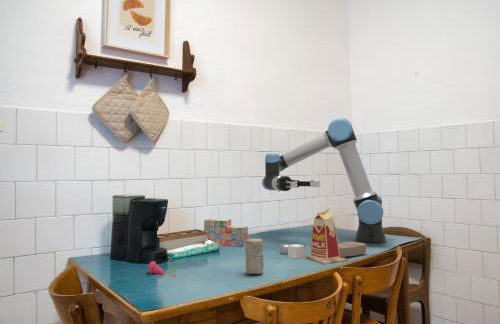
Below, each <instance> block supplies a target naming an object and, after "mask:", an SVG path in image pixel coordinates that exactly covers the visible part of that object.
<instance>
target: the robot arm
mask: <svg viewBox="0 0 500 324" xmlns="http://www.w3.org/2000/svg"><path fill="white" fill-rule="evenodd" d="M357 142H358V139H357V136H356V134H355V131H354V128H353V125H352V123H351V121H350V120H348V119H347V118H343V117H338V118H337V117H336V118H334V119H332V121H331V122H329V124H328V128H327V130H325V131H324V133H323V134H321V135H320V136H319V135H318V137H316V138H314V139H312V140H309V141H308V142H306V143H304V144H302V145H299V146H298V147H296V148H294V149H292V150H290V151H287V152H286V153H283V154H282V155H280V154H279V153H266V154H265V157H264V163H265V164H264V166H265V169H264V170H265V172H264V174H265V176H264V177H263V178H262V181H261V186H262V187H263V188H264V190H268V191H278V193H280V192H289V191H290V190H291V189H296V188H299V187H310V188H320V187H321V181H319V180H317V181H316V180H315V181H314V180H313V179H311V180H310V181H309V180H308V181H305V180H304V181H300V180H297V179H296V180H295V179H292V178H291V177H289V176H288V175H280V172H282V171H284V170H285V169H287V168H289V167H291V166H293V165H296V164H297V163H299V162H301V161H303V160H306V159H309V157H313V156H314V155H316V154H318V153H320V152H323V151H324V150H326V149H328V148H334V149H335V150H337V151H338V152H339V156H340V158H341V162H342V164H343V167H344V169H345V172H346V175H347V177H348V180H349V183H350V186H351V189H352V192H353V194H354V198H353V201H352V202H353V203H354V206H355V209H356V215H357V217H358V227H357V230H356V234H355V239H354V240H355V241H357V242H360V243H371V244H372V243H374V244H375V243H376V244H377V243H378V244H379V243H385V242H386V241H387V236H386V235H385V231H384V228H383V217H384V208H383V207H382V206H383V205H382V204H383V200H382V197H381V196H380V195H379V196H378V193H377V192H376V191H374V190H373V189H372V186H371V184H370V182H369V178H368V175H367V173H366V171H365V167H364V165H363V161H362V159H361V157H360V153H359V151H358V149H357V146H356V144H357Z"/></svg>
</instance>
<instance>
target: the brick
mask: <svg viewBox="0 0 500 324" xmlns="http://www.w3.org/2000/svg"><path fill="white" fill-rule="evenodd" d="M338 246H339V254H340V257H343V258H346V257H354V256H359V255H364V254H366V253H367V252H366V251H367V244H366V243H365V242H359V241H357V242H356V241H345V242H338Z"/></svg>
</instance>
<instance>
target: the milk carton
mask: <svg viewBox="0 0 500 324" xmlns="http://www.w3.org/2000/svg"><path fill="white" fill-rule="evenodd" d="M316 214H317V215H316V216H315V217H314V219H313V226H312V231H311V243H310V256H311V257H314V258H317V259H321V260H331V259H338V258H340V254H339V246H338V243H339V241H338V235H337V230H336V226H335V221H334V217H333V215H332V213H331V212H330V207H327V208H326V209H324V210H322V211H320V212H317V213H316Z"/></svg>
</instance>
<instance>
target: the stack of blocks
mask: <svg viewBox="0 0 500 324" xmlns="http://www.w3.org/2000/svg"><path fill="white" fill-rule="evenodd" d="M248 226H249V225H232V219H230V218H228V219H227V218H207V219H204V220H203V232H204V231H207V238H208V240H211V241H213V242H215V243H217V244H219V245H218V246H223V247H224V246H226V247H238V248H239V247H240V248H244V247H245V245H246V241H247V239H249V237H248V236H249V234H248V233H249V227H248Z"/></svg>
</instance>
